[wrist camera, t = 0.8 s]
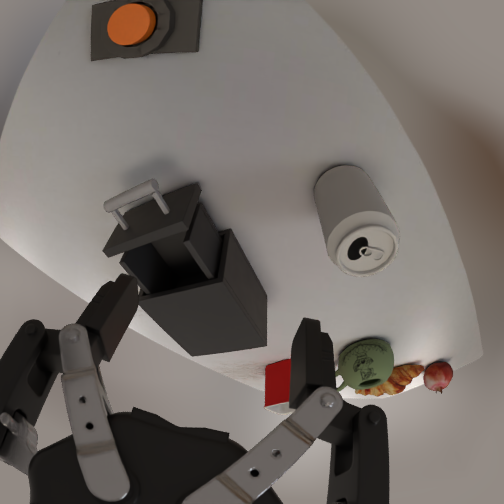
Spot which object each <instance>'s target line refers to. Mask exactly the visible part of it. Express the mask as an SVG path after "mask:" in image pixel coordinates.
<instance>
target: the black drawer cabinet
mask: <svg viewBox="0 0 504 504" xmlns="http://www.w3.org/2000/svg"><path fill="white" fill-rule="evenodd" d="M218 233H219V235H220V236H221V238H222V240H223V248H222V254H221V260H220V266H219V272H218V278H217V279H212V280H208V281H204V282H200V283H196V284H192V285H188V286H184V287H179V288H175V289H171V290H167V291H162V292H158V293H154V294H150V295H146V293H145V292H144V291H143V290H142V289H140V292H139V295H138V297H139V303H138V305H139V306H140V307H141V308H142V309H143V310H144V311H145V312H146V313H147V314H148V315H149V316H150V317H151V318H152V319H153V320H154V321H155V322H156V323H157V324H158V325H159V326H160V327H161V328H162V329H163V330H164V331H165V332H166V333H167V334H168V335H169V336H170V337H172V338H173V339H174V340H175V341H176V342H177V343H178V344H179V345H180V346H181V347H182V348H183V349H184V350H185V351H186V352H188V353H189V354H190V355H191V356H201V355H209V354H217V353H225V352H232V351H239V350H245V349H252V348H258V347H264V346H267V295H266V293H265V291H264V289H263V287H262V285H261V284H260V282H259V280H258V278H257V276H256V274H255V273H254V271H253V269H252V267H251V265H250V263H249V262H248V260H247V258H246V256H245V254H244V252H243V250H242V249H241V247H240V245H239V243H238V241H237V239H236V238H235V236H234V234H233V232H232V230H231V229H227V230H224V231H221V232H218Z"/></svg>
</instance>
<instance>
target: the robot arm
mask: <svg viewBox="0 0 504 504" xmlns="http://www.w3.org/2000/svg"><path fill="white" fill-rule="evenodd" d="M138 303H139V297H138V285H137V278H136V277H133V276H130V275H126V274H123V273H122V274H120V275H119V277H118V278H117V279H116V281H115V282H112V281H109V282H107V283H106V284H104V285H103V286H101V288H100V289H99V291H98V292H97V293H96V295H95V296H94V297H93V299H92V301H91V302H90V303H89V305H88V306H87V307H86V309H85V310H84V312H83V313H82V315H81V316H80V317H79V319H78V321H77V322H76V323H75V324H69V325H66V326H65V327H64V328H63V329H62V330H55V329H45V327H44V325H43V324H42V322H41V321H39V320H34V319H33V320H29V321H27V322H25V323H24V324H23V325H22V326H21V328H20V329H19V331H18V332H17V334H16V335H15V337H14V338H13V340H12V342H11V343H10V345H9V346H8V348H7V350H6V351H5V353H4V354H3V356H2V358H1V359H0V460H2V461H3V462H5V463H7V464H9V465H11V466H13V467H15V468H16V469H18V470H20V471H21V472H23V473H25V474H26V475H28V478H29V484H30V504H283V503H282V501H281V500H280V498H279V497H278V496H277V494H276V493H275V491H274V490H273V488H272V487H271V486H272V484H274V483H275V482H276V481H277V480H278V479H279V478H280V477H281V476H282V475H283V474H284V473H285V472H286V471H287V470H288V469H289V468H290V467H291V466H292V465H293V464H294V463H295V462H296V461H297V460H298V459H299V458H300V457H301V456H302V455H303V454H304V453H305V452H306V450H307V449H308V448H310V446H311V445H312V444H313V442H314V441H315V440H316V438H319V439H321V440H323V441H326V442H329V443H331V444H332V447H331V461H330V475H329V487H328V496H327V504H389V448H388V433H387V432H388V430H387V418H386V415H385V413H384V411H383V410H382V409H381V408H379V407H378V406H375V405H367V406H364V407H363V408H359V407H357V406H354V405H351V404H349V403H347V402H346V401H344V400H343V399H342V396H341V395H340V393H339V392H338V391H337V389H336V378H335V365H334V353H333V342H332V340H331V338H330V337H329V335H328V333H324V332H321V328H320V321H319V320H314V319H309V318H303V320H302V322H301V324H300V326H299V328H298V330H297V333H296V335H295V337H294V339H293V343H292V348H291V372H290V393H289V408H290V409H296V410H295V411H294V412H293V413H292V414H291V415H290V416H289V417H288V418H287V419H286V420H284V421H282V422H281V423H280V424H279V425H278V426H277V427H276V428H275V429H274V430H273V431H272V432H270V433H269V434H268V435H267V436H266V437H265V438H264V439H263V440H261V441H260V442H259V443H258V444H257V445H256V446H254V447H253V448H252V449H251V450H250V451H247V450H246V449H244V448H243V447H242V446H241V445H239V444H238V443H237V442H235V441H233V440H231V439H229V433H227V432H222V431H217V430H213V429H208V428H187V427H178V426H175V425H174V424H172V423H170V422H168V421H167V420H165V419H163V418H161V417H160V416H158V415H156V414H153V413H150V412H147V411H143V410H141V409H138V408H135V407H133V409H132V412H118V413H113V410H112V408H111V405H110V402H109V400H108V397H107V393H106V390H105V386H104V383H103V379H102V375H101V371H100V367H99V364H100V362H101V360H105V361H107V362H110V360H111V358H112V356H113V354H114V352H115V350H116V348H117V346H118V344H119V342H120V340H121V339H122V337H123V335H124V333H125V331H126V329H127V328H128V326H129V324H130V322H131V320H132V318H133V317H134V315H135V313H136V311H137V308H138ZM58 373H63V375H61V382H62V388H63V393H64V398H65V403H66V408H67V413H68V417H69V421H70V425H71V429H72V433H73V434H72V435H70V436H68V437H66V438H64V439H62V440H60V441H58V442H56V443H54V444H52V445H50V446H48V447H46V448H43V449H41V450H39V451H37V440H38V435H37V431H36V429H35V428H34V426H35V424H36V421H37V419H38V417H39V414H40V412H41V410H42V407H43V405H44V403H45V401H46V398H47V396H48V394H49V392H50V389H51V387H52V385H53V383H54V381H55V379H56V377H57V375H58Z"/></svg>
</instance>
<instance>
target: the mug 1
mask: <svg viewBox="0 0 504 504" xmlns="http://www.w3.org/2000/svg"><path fill="white" fill-rule="evenodd" d="M290 372H291V359H287V360H283V361H280V362H277V363H273V364H270V365H267V366H266V368H265V406H264V409H266V410H268V411H271V412H273V413H276V414H279V415H285V414H291V413H293V412H294V411H295V410H296V409H290V408H289V393H290Z"/></svg>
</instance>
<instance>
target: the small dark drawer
mask: <svg viewBox="0 0 504 504" xmlns="http://www.w3.org/2000/svg"><path fill="white" fill-rule="evenodd" d="M158 189H159V186H158V183H157V181H156V180H155V179H151V180H148V181H146V182H144V183H142V184H140V185H138V186H136V187H133V188H131V189H129V190H127V191H125V192H123V193H121V194H119V195H117V196H115V197H113V198H111V199H109V200H107V201H105V202H104V209H105V211H106V212H108V213H110V212H111V213H112V214H113V216H114V217H115V218H116V220H117V221H118V225H117V227H116V228H115V230H114V232H113V233H112V235H111V237H110V238H109V240H108V242H107V244H106V245H105V247H104V249H103V252H104V253H105V255H106V256H107V257H108V258H109V257H112V256H114V255H117V254H120V253H123V252H124V254H123V256H122V258H121V260H120V262H119V263H120V265H121V266H122V267H123V268H124V269H125V271H126V272H127V273H128V274H129V275H130V276H133V277H136V278H137V284H138V286H139V287H140V288H141V289H142V290H143V291H144V292H145V293H146V295H150V294H154V293H158V292H162V291H167V290H171V289H175V288H179V287H184V286H188V285H192V284H196V283H200V282H204V281H208V280H212V279H217V278H218V272H219V266H220V260H221V254H222V248H223V240H222V238H221V236H220V235H219V233H218V231H217V229H216V228H215V226H214V224H213V222H212V221H211V219H210V217H209V215H208V214H207V212H206V210H205V208H204V207H203V205H202V203H198V204H197V202H198V200H199V197H200V194H201V191H202V190H201V188H200V186H199V185H198V183H195V184H192V185H190V186H187V187H185V188H182V189H180V190H177V191H175V192H172V193H170V194H167V195H165V196H161V194H160V193H159V191H158ZM149 194H152V195H153V197H154V199H155V200H153V201H150V202H148V203H146V204H143V205H141V206H139V207H136V208H134V209H132V210H129V211H127V212H125V213H124V215H123V217H122V215H121V214H120V212H119V211H118V210H117V209H118V208H121V207H123V206H125V205H127V204H129V203H131V202H134V201H136V200H138V199H140V198H143V197H145V196H147V195H149Z"/></svg>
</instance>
